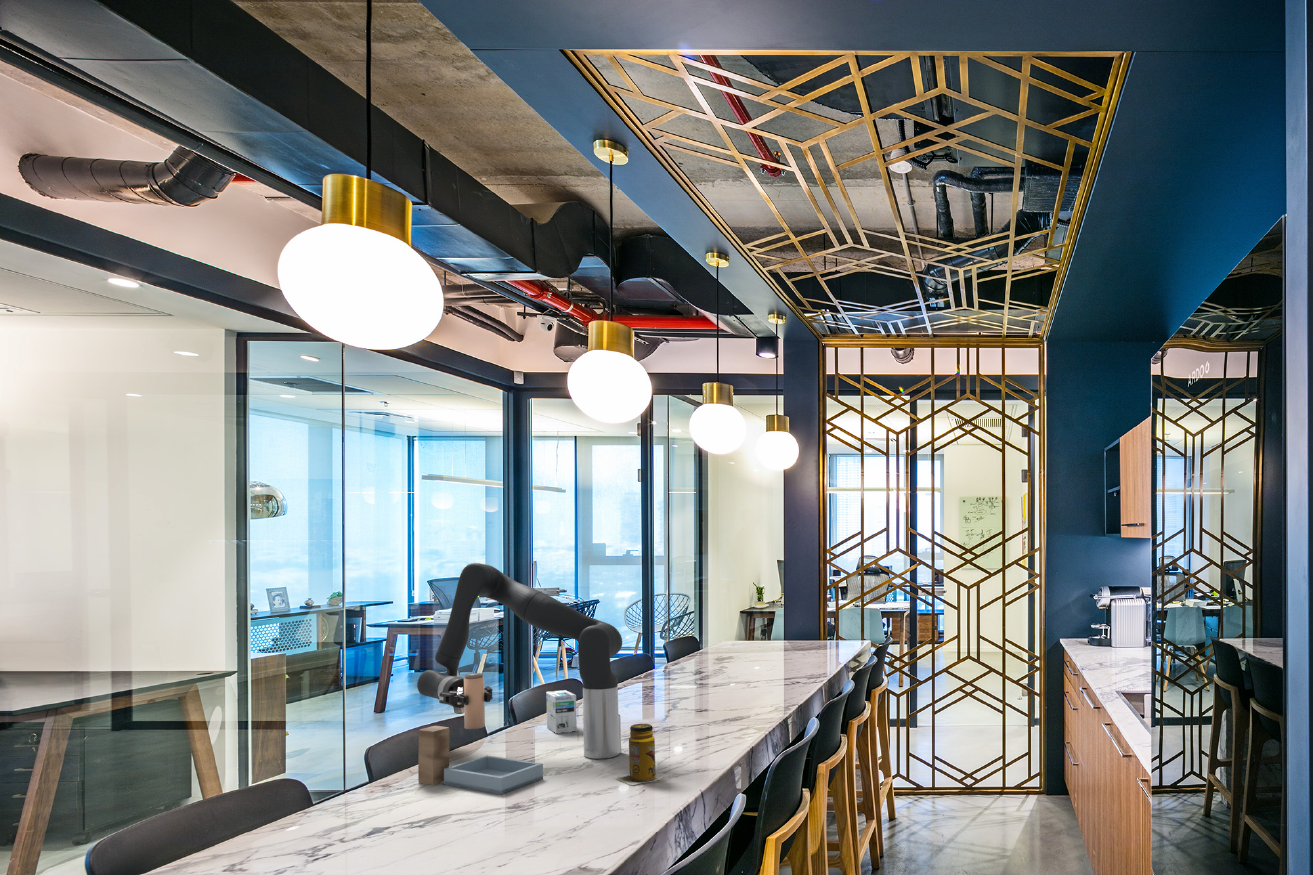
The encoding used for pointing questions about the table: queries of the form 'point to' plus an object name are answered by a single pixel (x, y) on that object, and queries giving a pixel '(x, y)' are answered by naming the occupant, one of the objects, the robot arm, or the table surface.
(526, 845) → the table surface
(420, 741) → the walnut block
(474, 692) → the terracotta jar
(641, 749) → the condiment
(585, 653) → the robot arm
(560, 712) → the light bulb box
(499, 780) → the tote
